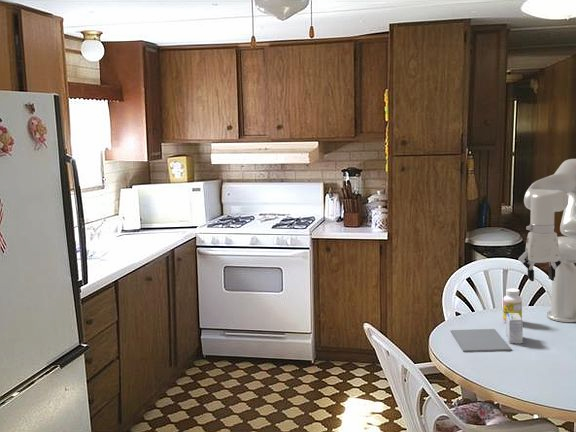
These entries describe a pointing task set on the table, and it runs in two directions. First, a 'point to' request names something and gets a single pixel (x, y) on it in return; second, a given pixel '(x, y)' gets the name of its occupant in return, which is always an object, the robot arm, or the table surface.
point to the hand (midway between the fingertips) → (541, 279)
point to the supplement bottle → (512, 303)
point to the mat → (480, 340)
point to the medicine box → (514, 328)
